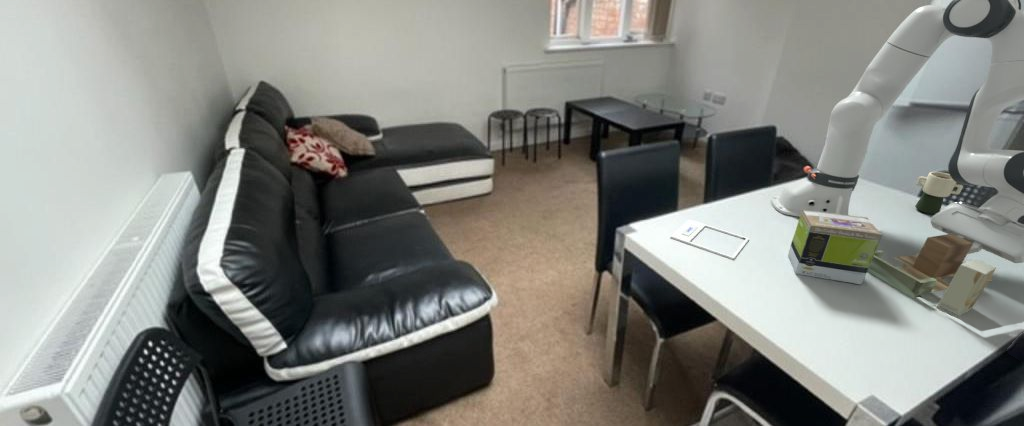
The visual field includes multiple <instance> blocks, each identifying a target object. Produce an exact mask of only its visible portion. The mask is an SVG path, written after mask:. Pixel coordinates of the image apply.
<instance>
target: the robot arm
mask: <svg viewBox="0 0 1024 426" xmlns="http://www.w3.org/2000/svg"><path fill="white" fill-rule="evenodd" d="M954 36H959V37H964V38H979V39H987V40H988V41H989V42H990V44H991V49H992V51H991V59H990V67H989V71H988V73H987V76H986V79H985V80H984V82H983V84H982V86H981V87H979V88H978V89H977V90H976V91H975V92H974V94H972V98H971V100H970V102H969V105H968V107H967V111H966V115H965V119H964V121H963V125H962V128H961V131H960V134H959V139H958V142H957V145H956V147H955V150H954V152H953V153H952V155H951V157H950V159H949V162H948V164H947V165H948V166H947V171H948V174H950V176H951V178H952V179H953V180H954V181H955V182H956V184H959V185H962V186H977V187H979V186H980V187H986V188H987V187H988V188H995V190H996V191H997V193H996V194H995V195H993V196H991V198H989V199H988V200H986V201H985V202H984V203H983V204H982V205H981V206H979V207H978V206H976V205H971V204H968V203H966V202H964V201H958V202H957V201H955V202H951V203H949V204H948V205H947V206H946V207H944V208H943V209H942V210H941V209H940V212H938V213H934V215H932V216H931V218H930V225H931V226H932V228H933V229H935V230H938V231H939V232H942V233H944V234H953V235H955V236H957V237H960V238H962V239H964V240H967V241H969V242H971V243H973V245H972V247H971V248H970V250H969V252H968V254H967V255H969V254H974V253H978V252H980V251H982V250H983V251H986V252H989V253H991V254H992V255H995V256H998V257H1000V258H1002V259H1005V260H1006V261H1008V262H1012V263H1014V264H1022V263H1024V150H1018V149H1017V150H1015V149H995V148H994V149H993V148H991V147H990V142H991V138H992V135H993V133H994V129H995V126H996V123H997V119H998V117H999V116H1000V114H1001V113H1002V112H1003V111H1004V110H1005V109H1008V108H1009V107H1010V106H1012V105H1014V104H1016V103H1019V102H1022V101H1024V10H1022V2H1021V0H951V1H950V2H949V4H948V5H947V6H943V5H938V4H937V5H936V4H928V5H923V6H919V7H918V8H916V9H915V10H913V11H912V12H911V13H910V14H909V15H908V16H907V17H906V18H905V19H904V20H903V21H902V22H900V24H899V25H898V27H897V28H896V29H895V30H894V31H893V33H892V34H891V35H890V36H889V38H887V40H886V41H885V42H884V44H883V46H882V47H881V48H880V49H879V51H878V52H877V54H876V55H875V56H874V57H873V59H872V60H871V61H870V63H869V65H868V66H867V67H866V68H865V70H864V72H863V74H862V75H861V77H860V79H859V80H858V82H857V84H856V85H855V87H854V88H853V90H852V91H851V92H850V94H849V95H847V97H845V98H843V99H841V100H839V102H838V103H836V104H835V106H834V107H833V109H832V110H831V113H830V116H829V122H828V127H827V131H826V137H825V143H824V146H823V148H822V151H821V155H820V158H819V161H818V164H817V166H816V167H814V168H811V166H809V165H806V166H804V167H803V171H804V172H805V173H806V174H807V177H804V178H802V179H799V180H797V181H793V182H791V183H789V184H786V185H784V187H783V189H782V191H781V193H780V194H779V195H773V196H772V197H771V199H770V203H771V205H772V207H773V208H774V209H775V210H776V211H778V212H779V213H781V214H782V215H788V216H794V217H799V218H800V215H801V212H802V210H808V211H817V212H825V213H834V214H841V215H849V207H850V202H851V197H852V194H853V192H854V190H855V188H856V186H857V184H858V181H859V177H860V175H859V173H860V171H861V167H862V166H863V162H864V160H865V159H866V156H867V153H868V149H869V148H868V147H869V143H870V141H871V140H870V139H871V137H872V133H873V131H874V127H875V125H876V124H877V123H878V122H879V121H881V120H882V118H884V116H885V115H886V114H887V113H888V111H889V110H890V108H891V107H893V105H894V104H895V102H896V101H897V99H898V98H899V97H900V96H901V95H902V93H903V92H904V91H905V89H906V88H907V87H908V85H909V83H911V81H912V80H913V79H914V78H915V77H916V75H917V74H918V73H919V72H920V71H921V69H922V68H923V67H924V66H925V65H926V64H927V63H928V61H929V60H930V58H932V56H933V55H934V53H935V52H936V51H937V50H938V48H939V47H940V46H941V45H942V44H943V43H944V42H945V41H946V40H948V39H949V38H951V37H954Z"/></svg>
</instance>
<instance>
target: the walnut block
mask: <svg viewBox="0 0 1024 426" xmlns="http://www.w3.org/2000/svg"><path fill="white" fill-rule="evenodd" d="M972 245H973V243H971V242H969V241H967V240H964V239H962V238H960V237H957V236H955V235H953V234H947V233H945V234H943V235H942V234H941V235H936V236H928V237H927V238H926V240H925V242H924V244H923V246H922V247H921V250H920V252H919V253H918V254H919V256H918V258H917V260H916V262H915V264H914V266H913V267H914V268H916V269H918V270H920V271H922V272H924V273H925V274H927V275H929V276H931V277H933V278H934V277H939V276H944V275H950V274H955V273H956V272H957V270H958V269H959V267H960V265H961V264H963V263H964V261H965V259H966V257H967V256H968V255H969V254H968V252H969V250H970V248H971V247H972Z"/></svg>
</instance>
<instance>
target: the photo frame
mask: <svg viewBox="0 0 1024 426" xmlns="http://www.w3.org/2000/svg"><path fill="white" fill-rule="evenodd" d="M704 228H708V229H711V230H714V231H717V232H720V233H723V234H727V235H730V236H733V237H736V238H739V239H742V240H743V239H744V240H743V241H742V243H741V244H740V246H739V247H738V248H737V249H736V251H735V252H734V253H733V254H732V255H729V254H726V253H723V252H720V251H717V250H715V249H712V248H709V247H707V246H703V245H701V244H698V243H695V242H692V241H693V240H694V238H695V237H697V235H699V233H700V232H701V231H703V229H704ZM670 239H673V240H676V241H677V242H678V241H679V242H682V243H684V244H687V245H689V246H692V247H696V248H699V249H701V250H704V251H706V252H710V253H713V254H715V255H716V254H717V255H719V256H721V257H725V258H728V259H730V260H735V258H736V257H737V256H738V255H739V254H740V252H741V251H742V249H743V248H744V247H745V245H746V244H747V243H748V242H749V241H750V238H749V237H746V236H744V235H741V234H737V233H733V232H731V231H728V230H724V229H721V228H717V227H715V226H712V225H708V224H705V223H702V222H699V221H696V220H692V219H687V221H685V223H684V224H682V225H681V226H680V227H679V228H678V229H677V230H675V232H673V234H671V235H670Z"/></svg>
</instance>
